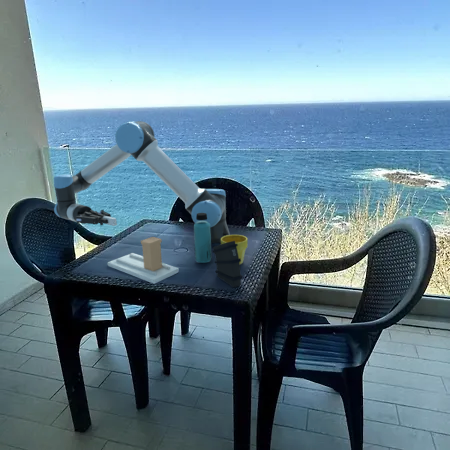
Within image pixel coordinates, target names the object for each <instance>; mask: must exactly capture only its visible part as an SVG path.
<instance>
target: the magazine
mask: <svg viewBox="0 0 450 450" xmlns="http://www.w3.org/2000/svg"><path fill="white" fill-rule="evenodd" d="M236 246H238V244H235V241H231V242H227V243H224V244H221V243H220V244H217V245H214V246H213V247H212V249H211V252H212V254H213V253H214V256H215V261H214V264H215V265H216V270H215V273H216V276H217V278H219V279H220V280H222V281H224V282H225V283H227V284H228V285H229V286H231V287H232V288H237V287H241V286H242V283H241V281H242V279H243V275H242V273H241V266H240V265H241V264H240V263H239V262H241V259H240V258H239V257H238V251H237V247H236Z"/></svg>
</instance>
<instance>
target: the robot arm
mask: <svg viewBox="0 0 450 450" xmlns="http://www.w3.org/2000/svg"><path fill="white" fill-rule="evenodd" d="M114 135H115V143H116V144H114V145H113V146H112V147H110V148H109V149H107V151H105V152H103V154H101V155H100V156H99V157H97V158H96V159H94V160H93V161H92V162H90V163H89V164H88V165H87V166H85V167H84V168H83V169H81V170H80V171H78V172H77V173H76V174H74V175H72V174H70V173H69V174H68V173H64V174H57V175H54V176H53V188H54V192H55V197H56V204H55V205H54V208H53V211H54V214H55V215H56V216H57V217H59V218H61V219H64V220H69V221H72V222H76V223H77V224H83V225H84V224H87V225H88V224H90V225H98V224H99V225H100V226H103V225H104V224H105V225H109V226H113V227H114V226H117V225H118V223H117V218H116V217H112V215H111V213H110V212H106V211H105V210H104V209H101V210H100V211H97V210H93V209H92V208H91V207H90V206H88V205H84V204H80V203H77V200H76V199H77V197H76V194H77V193H79V192H82V191H85V190H87V189H89V188H90V187H91V185H93V184H94V183H95V182H96V181H98V180H99V179H101V178H103V176H105V175H107V173H108V172H111V171H112V170H114V169H115V168H116V167H117V166H119V165H120V164H121V163H123V162H124V161H126V160H127V159H128V158H130V157H131V156H132V158H133V159H135V160H136V161H137V162H143V163H144V164H145V165H146V166H147V167H148V168H149V169H150V170H151V171H152V172H153V173H154V174H155V175H156V176H157V177H158V178H159V179H160V180H161V181H162V182H164V184H165V185H166V186H167V187H168V188H169V189H170V190H171V191H172V192H173V193H174V194H175V195H176V196H177V197H178V198H179V199H180V200H182V201H183V203H184V204H185V205H184V207H185V210H186V211H187V212H188V213H189V214H190V215H191V219H192V221H193V222H194V224H195V223H196V222H198V221H207V222H208V223H209V224H210V232H211V233H210V234H211V244H218V243H220V244H221V238H222V237H224V236H227V235H231V234H230V231H229V227H228V224H227V219H226V217H227V214H226V213H227V210H226V209H227V207H226V206H227V205H226V203H227V201H226V197H227V196H226V195H227V194H226V190H224V189H221V188H220V189H219V188H200V187H199V186H198V185H197V184H196V183H195V182H194V181H193V180H192V179H191V178H190V177H189V176H188V175H187V174H186V173H185V172H184V171H183V170H182V169H181V168H180V167H179V166H178V165H177V164H176V163H175V162H174V161H173V160H172V159H171V158H170V156H169V155H167V154H166V152H164V151H163V150H162V148H160V146H159V144H158V143H159V141H158V139H157V138H156V136H155V130H154V129H153V127H152V126H151V125H150V124H149V123H148V122H146V121H141V120H140V121H139V120H137V121H126V122H124V123H122V124H120V125H119V126H118V128H117V129H116V132H115V134H114ZM197 213H206V214H207V220H197V219H196V215H197Z"/></svg>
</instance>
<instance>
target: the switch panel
mask: <svg viewBox="0 0 450 450" xmlns="http://www.w3.org/2000/svg"><path fill="white" fill-rule="evenodd" d="M107 266H108V267H110V268H112V269H116V270H118V271H120V272H123V273H126V274H128V275H131V276H133V277H136V278H138V279H140V280H143V281H146V282H149V283H150V284H154V285H155V284H158V283H160V282H161V281H163V280H166V279H167V278H170V277H171V276H174V275H175V274H177V273H180V272H179V268H178V267H176V266H173V265H170V264H168V263H167V264H166V263H165V262H162V268H160V269H157V270H155V271H151V270H148V269H145V268H144V260H143V255H140V254H137V253H134V252H131V253H129V254H126V255H123V256H121V257H118V258H115V259H112V260H111V261H108V262H107Z"/></svg>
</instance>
